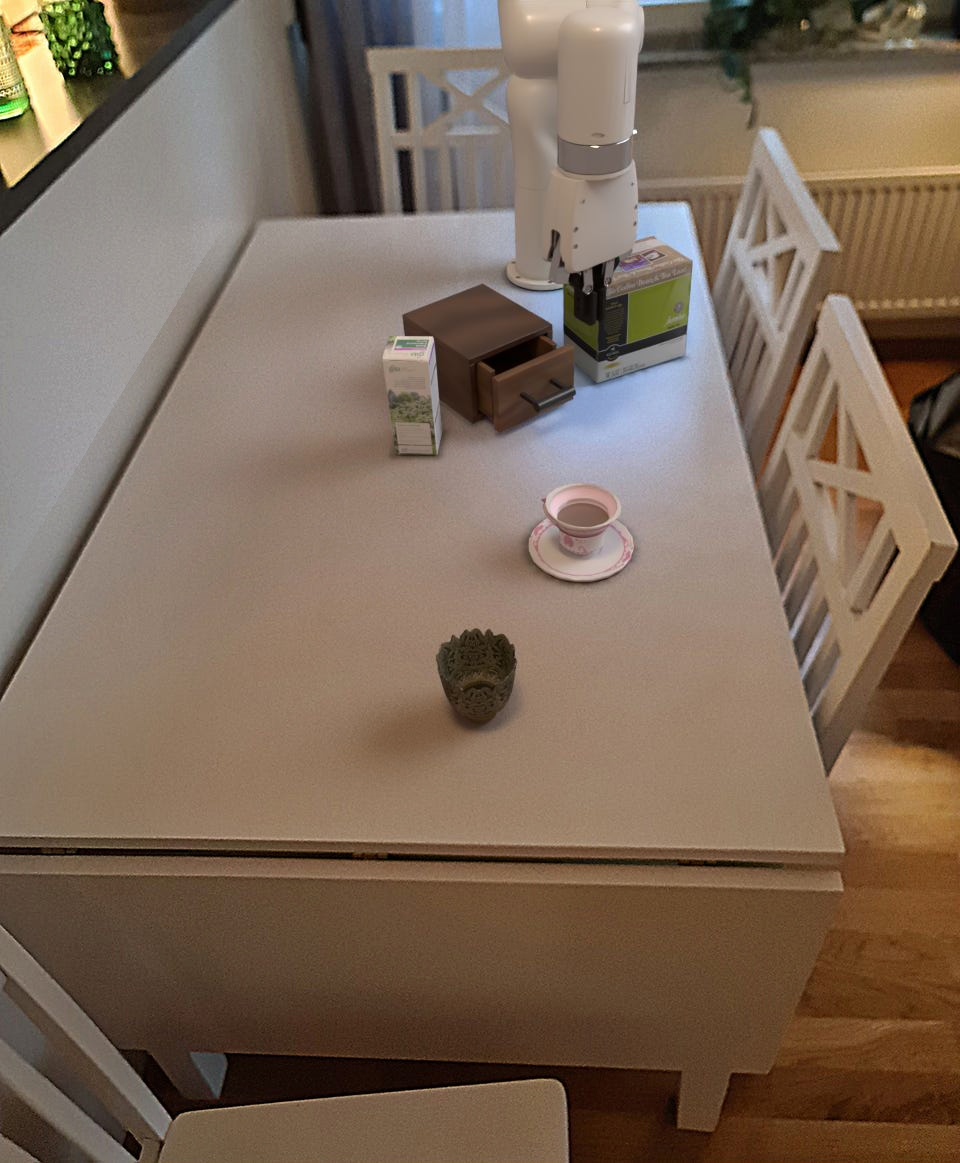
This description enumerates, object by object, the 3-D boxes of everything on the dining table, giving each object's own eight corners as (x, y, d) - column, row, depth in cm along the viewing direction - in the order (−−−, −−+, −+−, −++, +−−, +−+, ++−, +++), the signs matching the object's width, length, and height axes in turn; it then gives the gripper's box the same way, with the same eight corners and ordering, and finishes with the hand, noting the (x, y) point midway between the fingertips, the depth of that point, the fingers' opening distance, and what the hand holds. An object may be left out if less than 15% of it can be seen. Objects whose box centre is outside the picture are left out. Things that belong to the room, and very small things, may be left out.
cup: (440, 685, 95) (433, 630, 89) (514, 678, 95) (511, 623, 89) (444, 746, 89) (438, 691, 84) (522, 738, 89) (521, 683, 84)
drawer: (594, 412, 126) (596, 360, 121) (519, 448, 121) (518, 395, 116) (508, 356, 138) (506, 306, 132) (436, 387, 133) (432, 336, 127)
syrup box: (443, 431, 126) (434, 333, 116) (437, 457, 122) (427, 358, 112) (401, 430, 127) (388, 333, 117) (394, 457, 123) (380, 358, 113)
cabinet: (552, 387, 133) (552, 324, 126) (473, 424, 127) (468, 359, 121) (485, 344, 142) (482, 283, 136) (409, 376, 137) (401, 314, 130)
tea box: (647, 328, 143) (655, 232, 133) (686, 357, 137) (697, 259, 127) (560, 354, 139) (561, 257, 129) (595, 386, 133) (599, 287, 122)
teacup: (649, 530, 110) (653, 488, 106) (609, 596, 102) (611, 554, 98) (555, 503, 114) (555, 462, 110) (510, 564, 107) (508, 522, 103)
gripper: (625, 124, 101) (616, 286, 113) (512, 161, 95) (516, 328, 107) (675, 142, 96) (661, 309, 109) (560, 182, 90) (558, 354, 103)
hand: (589, 318), depth 108 cm, fingers closed
